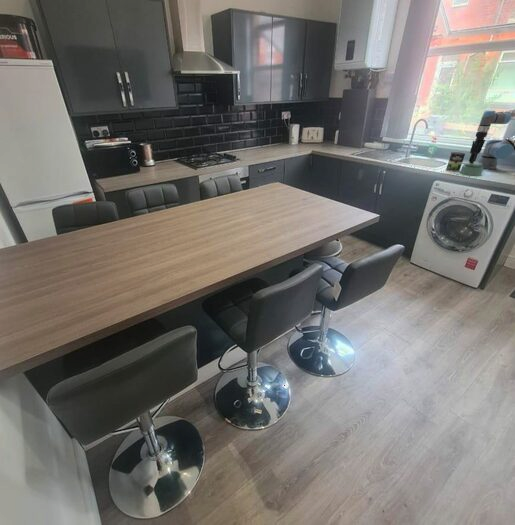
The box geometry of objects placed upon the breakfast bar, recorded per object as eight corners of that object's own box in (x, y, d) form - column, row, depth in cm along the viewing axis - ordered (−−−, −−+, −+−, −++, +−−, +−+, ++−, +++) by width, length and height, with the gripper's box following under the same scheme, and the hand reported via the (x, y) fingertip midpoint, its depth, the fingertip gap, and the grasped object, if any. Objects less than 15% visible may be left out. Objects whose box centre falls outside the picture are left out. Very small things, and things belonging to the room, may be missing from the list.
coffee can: (460, 172, 247) (465, 154, 240) (446, 170, 251) (451, 153, 244) (459, 169, 255) (464, 152, 247) (445, 168, 259) (450, 151, 252)
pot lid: (465, 161, 261) (469, 150, 256) (485, 164, 250) (489, 153, 245) (456, 163, 254) (460, 152, 249) (476, 166, 242) (480, 155, 238)
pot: (465, 171, 250) (468, 163, 247) (484, 174, 239) (487, 166, 236) (456, 173, 243) (459, 165, 240) (475, 176, 232) (478, 169, 229)
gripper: (481, 132, 233) (470, 163, 245) (493, 131, 239) (482, 161, 251) (471, 131, 239) (461, 161, 250) (483, 130, 245) (473, 159, 256)
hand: (471, 161), depth 250 cm, fingers closed on pot lid, 3 cm apart
